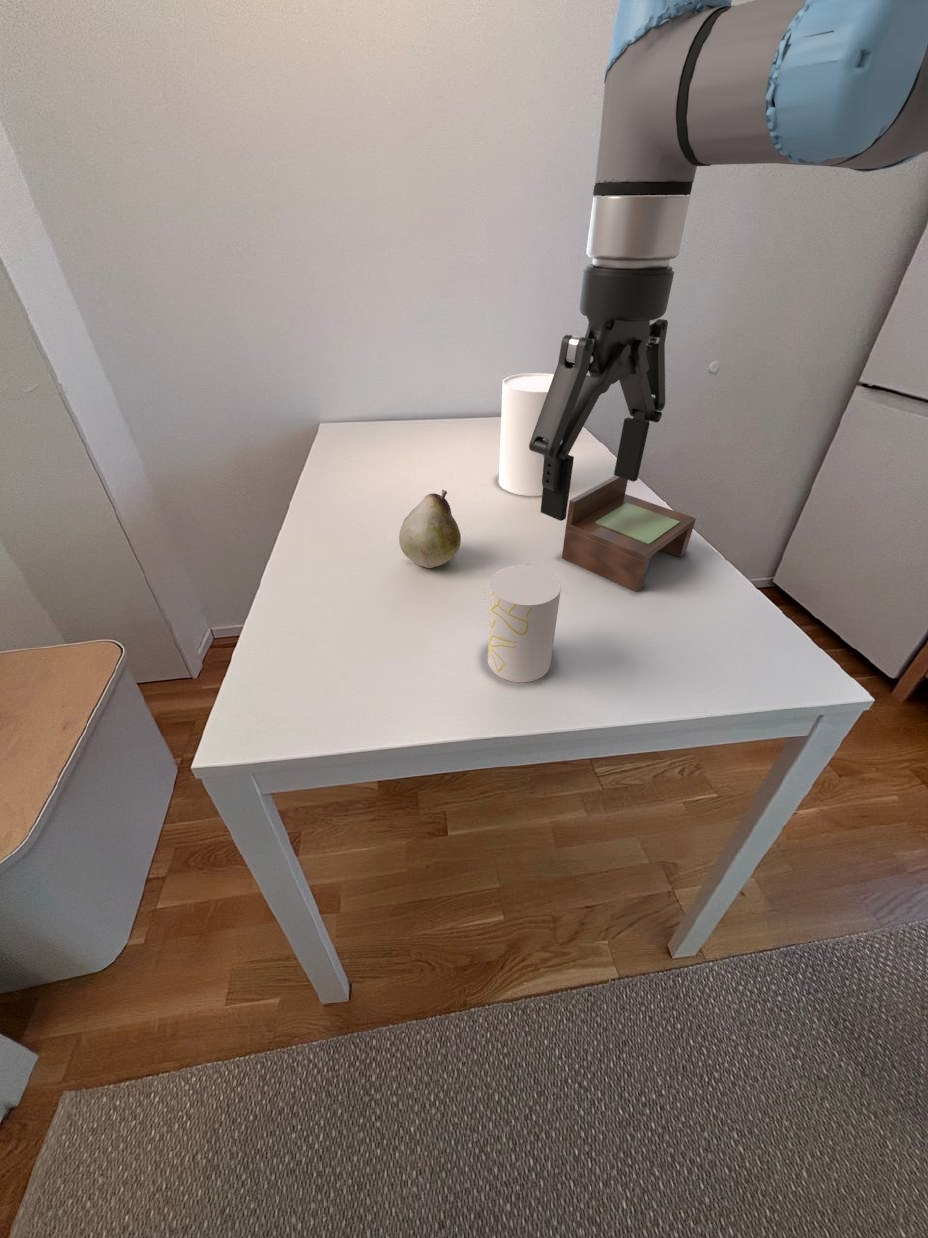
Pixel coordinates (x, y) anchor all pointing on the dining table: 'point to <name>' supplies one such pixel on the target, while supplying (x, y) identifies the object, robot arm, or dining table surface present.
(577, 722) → the dining table surface
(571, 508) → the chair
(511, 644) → the white round cylinder
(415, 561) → the fruit
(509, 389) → the canister
